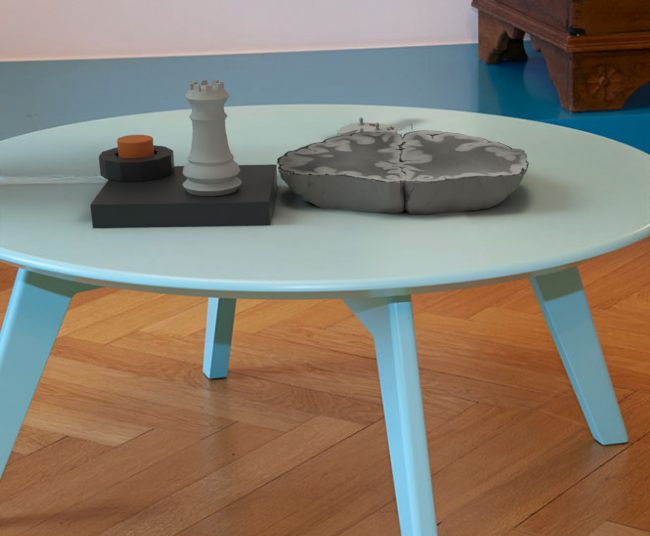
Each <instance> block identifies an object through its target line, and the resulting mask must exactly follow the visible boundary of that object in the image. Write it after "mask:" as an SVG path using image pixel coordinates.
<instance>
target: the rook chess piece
mask: <svg viewBox="0 0 650 536" xmlns="http://www.w3.org/2000/svg"><path fill="white" fill-rule="evenodd" d="M211 83H212V84H209V83H208V79H200V84H199V82H198V80H192V81H190V82H189V83H188V88H189V89H188V91H187V92H186V93H185V95H184V98H185V99H186V100H187V102H188V103H189V104H190V107H191V113H190V114H189V116H188V118H189V119H190V120H191V125H192V136H191V148H190V153H189V156H188V157H187V160H188V161H187V163H186V164H185V165H183V166H184V168H183V174H184V176H185V177H186V178H187V180H186V181H185V182H184V183H183V186H184V188H185V189H186V190H187V191H188V193H190V194H193V195H198V196H220V195H226V194H230V193H233V192H235V191H236V190H237V189H238V188H239V186H240V185H241V183H242V182H241V180H240V179H239V178H237V177H236V176H237V175H238V174H239V172H240V168H239V165H240V164H238V163H237V161H235V160H234V157H235V156H234V154H233V153H232V152H231V149H230V145H229V141H228V135H227V130H226V119H227V118H228V114H227V113H226V112H225V104H226V102H227V101H228V99H229V97H230V94H229V92H228V91H227V90H226V89H225V82H224V80H220V79H212V80H211Z"/></svg>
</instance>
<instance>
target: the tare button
mask: <svg viewBox="0 0 650 536" xmlns="http://www.w3.org/2000/svg"><path fill="white" fill-rule="evenodd" d="M116 144H117V147H118V156H119V157H120V158H143V157H150V156H153V155H154V146H153V145H154V138H153V136H151V135H149V134H129V135H124V136H121V137H118V138H117V140H116Z"/></svg>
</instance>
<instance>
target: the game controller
mask: <svg viewBox="0 0 650 536" xmlns="http://www.w3.org/2000/svg"><path fill="white" fill-rule="evenodd" d="M358 121H359V122H351V123H348V124H345V125H343V126H342V127H340V128H338V129H337V130H336V132H335V133H336V136H341V135H350V134H353V133H358V132H366V131H368V132H394V133H398V132H401V131H402V130H403V129H404V127H405V126H406V125H407V123H405V124H403V125H402V128H400V129H399V130H398V128H397V127H396V126H394V125H390V124H386V123H381V122H380V123H379V122H368V121H367V122H365V121H364V118H363V117H362V116H361V117H359V119H358ZM410 126H411V128H410V130H413V124H412V123H410Z"/></svg>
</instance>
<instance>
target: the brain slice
mask: <svg viewBox="0 0 650 536" xmlns="http://www.w3.org/2000/svg"><path fill="white" fill-rule="evenodd" d="M276 165H278V166H277V172H278V173H279V175H280V179H281V180H282V181H283V182H284V183H285V184H286V185H287V186H288V187H289V189H290V191H292V193H293V194H295V195H298V196H300V197H301V198H302V199H303V200H304V202H308V203H310V204H313V205H315V206H316V207H318V208H320V209H331V210H344V211H351V212H363V213H372V214H401V213H403V212H404V211H405V212H407V213H408V214H410V215H433V214H441V213H447V212H448V213H449V212H450V213H451V212H467V211H468V212H473V211H480V210H489V209H491V208H494V207H495V206H497V205H498V204H500V203H501V202H503V201H505V200H506V198H508V196H509V195H512V194H513V193H514V192H515V191H516V190H517V189H518V187H519V186H520V184H521V183H522V182H523V179H524V177H525V175H526V174H527V171H528V168H529V165H530V164H529V162H528V154H527V153H526V152H525V150H524V149H522V148H514V147H513V148H512V147H511V146H509V145H506V144H504V143H502V142H498V141H491V140H489V139H486V138H483V137H479V136H473V135H467V134H464V133H459V132H458V133H457V132H449V131H448V132H446V131H441V130H427V129H426V130H424V129H423V130H415V131H408V132H405V133H404V134H403V135H402V134H401V133H399V132H397V133H394V132H368V131H366V132H358V133H353V134H350V135H341V136H337V135H335V136H331V137H327V138H324V140H322V141H317V142H312V143H308V144H307V145H305V146H301V147H298V148H296V149H294V150H288V151H286V152H285V153H284V154H283V155H281V156H279V157H278V158H277V160H276Z"/></svg>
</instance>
